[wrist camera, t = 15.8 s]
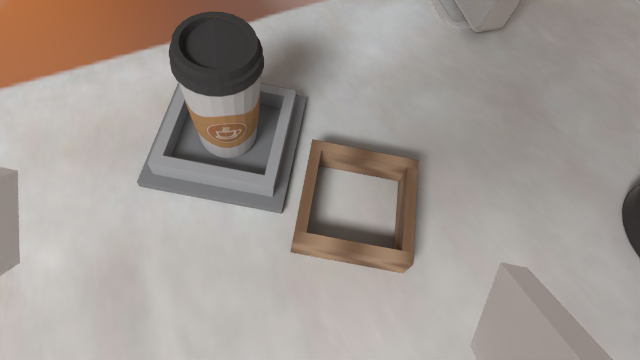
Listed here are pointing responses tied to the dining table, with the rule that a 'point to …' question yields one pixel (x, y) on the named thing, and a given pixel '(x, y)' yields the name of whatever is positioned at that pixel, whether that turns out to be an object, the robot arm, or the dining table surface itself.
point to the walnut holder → (371, 166)
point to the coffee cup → (219, 79)
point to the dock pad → (228, 173)
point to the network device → (479, 14)
